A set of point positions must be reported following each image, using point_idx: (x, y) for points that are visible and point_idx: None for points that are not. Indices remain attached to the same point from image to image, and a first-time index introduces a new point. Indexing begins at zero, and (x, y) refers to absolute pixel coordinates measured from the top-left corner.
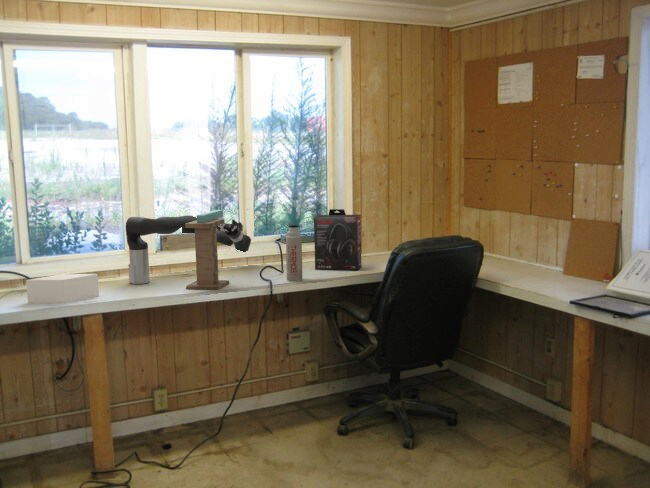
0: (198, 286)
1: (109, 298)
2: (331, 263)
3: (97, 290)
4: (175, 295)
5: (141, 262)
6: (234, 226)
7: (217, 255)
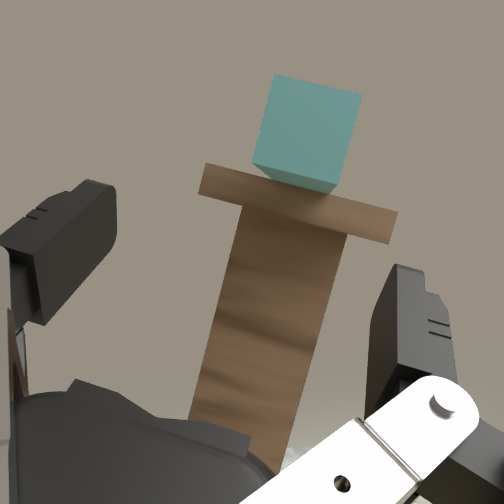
0: None
1: None
2: None
3: None
4: (296, 448)
5: None
6: (20, 353)
7: (194, 394)
